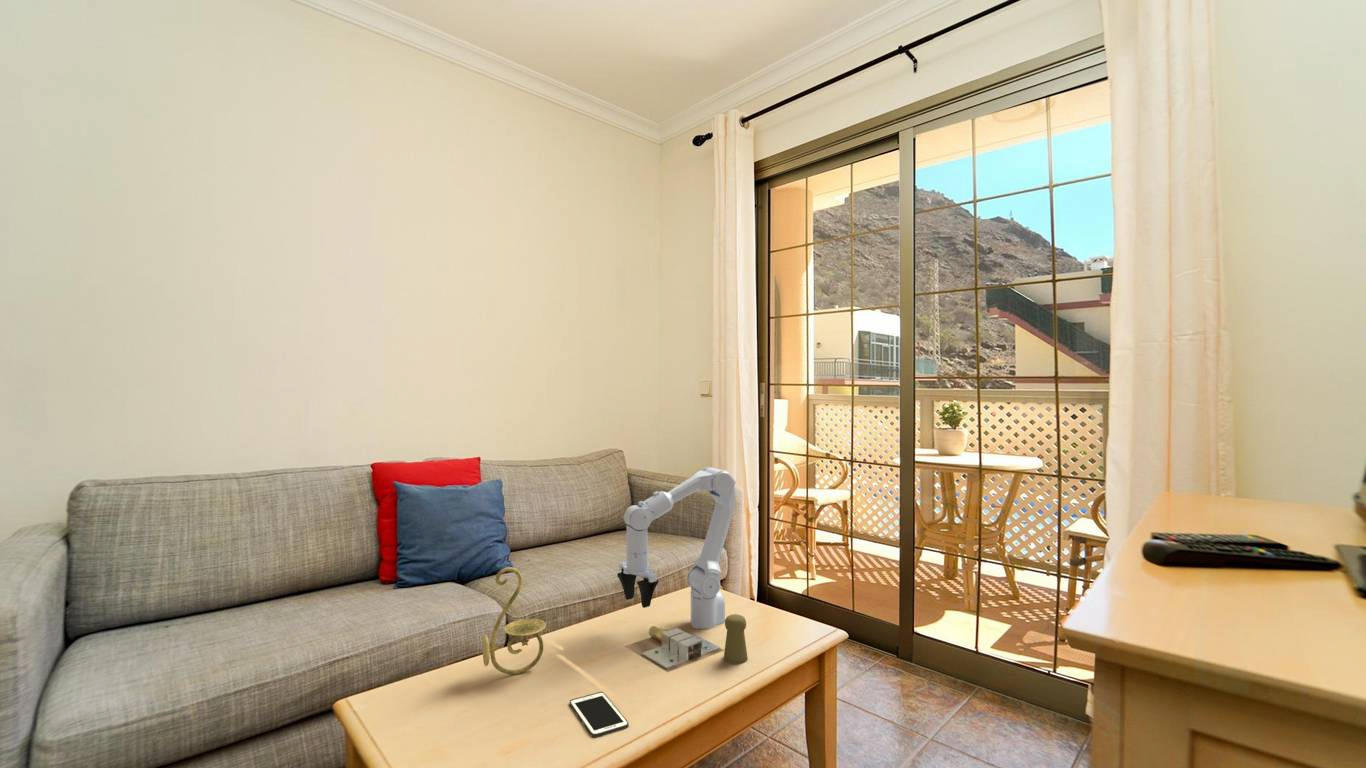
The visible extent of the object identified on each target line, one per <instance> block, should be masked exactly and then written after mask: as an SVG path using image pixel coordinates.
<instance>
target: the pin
mask: <svg viewBox="0 0 1366 768" xmlns="http://www.w3.org/2000/svg"><path fill="white" fill-rule="evenodd" d="M666 631H667V630H664V629H662V628H660V627H658V626H656V625H652V626H650V628H649V630H648V635H649V637H653V638H654V639H656V640H658V641H660V642H662V633H663V632H666Z"/></svg>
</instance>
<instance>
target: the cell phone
mask: <svg viewBox="0 0 1366 768" xmlns="http://www.w3.org/2000/svg"><path fill="white" fill-rule="evenodd" d="M569 706H570V708H571V709H572V711H573V712H574V714H575V715H576V716H577V718H578V720H579V721H580V722H581V723H582V724H583V727H584V728H585V730H586V732H588V734H589V735H590V736H591V737H592V738H595V739H596V738H599V737H603V736H606V735H609V734H613V733H616V732H619V731H623V730H626V729H628V728H629V727H630V726H629V722H628V720H627V719H626V717H625V716H624V715H623V714H622V713H621V711H620V710H619V709H618V708H617V707H616V705H615V704H614V703H613V702H612V700H611V699H610V698H609V697H608V695H606V693H604V692H603V691H600V692H599V691H598V692H595V693H590V694H588V695H587V694H586V695H583V696H579V697H575V698H572V699H570V700H569Z"/></svg>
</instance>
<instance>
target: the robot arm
mask: <svg viewBox="0 0 1366 768" xmlns="http://www.w3.org/2000/svg"><path fill="white" fill-rule="evenodd" d="M735 487H736V480H735V479H734V477H733V476H732V474H731V472H729V471H728V470H724V469H719V468H715V467H712V466H707V467H705V468H703V469H702V470H699V471H698V470H697V472H696V473H695V474H693V475H692V476H690V477H689V478H688V479H686V480H684V481H683V482H681V483H680V484H678V485H677V486H676V487H674V488H672V489H671V490H669V491H668V492H666V491H664V490H663V491H662V490H661V491H656V490H655V491H654V492H653V493H652V496H650V497H648V498H647V499H645V500H644V501H643V500H640V501H638V505H637V504H634V505H631V506H628V507H627V509H626V510H625V512H624V515H623V516H622V519H623V523H625V524H626V535H625V536H626V542H625V543H626V544H625V545H626V561H622V562H619V563H618V567H619V570H620V572H618V573H617V574H616V575H617V578H618V580H619V582H620V584H621V586H622V589H623V593H624V598H625V600H626V601H629V600H632V599H634V597H635V587H636V586H635V585H636V584H637V586H638V589H639V594H640V601H641V607H642V608H649V607H650V606H651V604H652V600H653V594H654V592H655V589H656V588H657V585H658V584H659V579H657V578H658V575H657V573H656V572H654V571H653V570H652V569H651V568H650V567H649V538H648V536H649V534H648V530H649V529H648V528H649V527H650V525H651V523H652V522H653V521H655V520H657V519H658V518H660V517H661V516H664V514H666V513H669V512H670V511H672V509H673V507H674V504H675V503H677V502H678V501H680V500H682V499H684V498H686V497H688V496H690V495H692V494H694V493H696V492H698V491H704V492H709V494H711V496H712V498H713V500H714V501H715V506H714V509H713V512H712V516H711V519H710V522H709V526H708V529H707V532H706V535H705V540H704V543H703V546H702V550H701V553H700V556H699V557H698V558H696V559H695V560H694V562H693V566H692V567H691V568H690V569H689V570H688V572H687V575H686V581H687V584H688V586H689V587H690V626H692V627H693V628H695V629H697V630H698V629H699V630H709V629H712V628H715V627H717V626H718V625H721V624H725V619H726V601H725V597H724V596H723V594H722V593H721V592H720V589H721V575H722V571H721V567H720V564H719V563H720V559H721V556H722V552H723V549H724V546H725V543H726V539H727V535H728V532H729V529H730V525H731V522H732V519H733V515H734V511H735V507H736V505H737V496H736V489H735ZM637 577H639V578H641V579H642V580H638V581H636V579H637Z"/></svg>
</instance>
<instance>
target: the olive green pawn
mask: <svg viewBox="0 0 1366 768" xmlns="http://www.w3.org/2000/svg"><path fill="white" fill-rule="evenodd" d="M724 626H725V629H726V636H725V642H724V643H725V645H724V651H723V653H724V654H723V660H724V661H725V662H727V663H729V664H733V665H740V664H745V663H746V662H748V651H747V643H746V636H745V630H746V628H747V620H746V618H745V617H744V616H743V615H741V614H738V613H737V614H736V613H734V614H729V615H727V616H726V617H725V622H724Z"/></svg>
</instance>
